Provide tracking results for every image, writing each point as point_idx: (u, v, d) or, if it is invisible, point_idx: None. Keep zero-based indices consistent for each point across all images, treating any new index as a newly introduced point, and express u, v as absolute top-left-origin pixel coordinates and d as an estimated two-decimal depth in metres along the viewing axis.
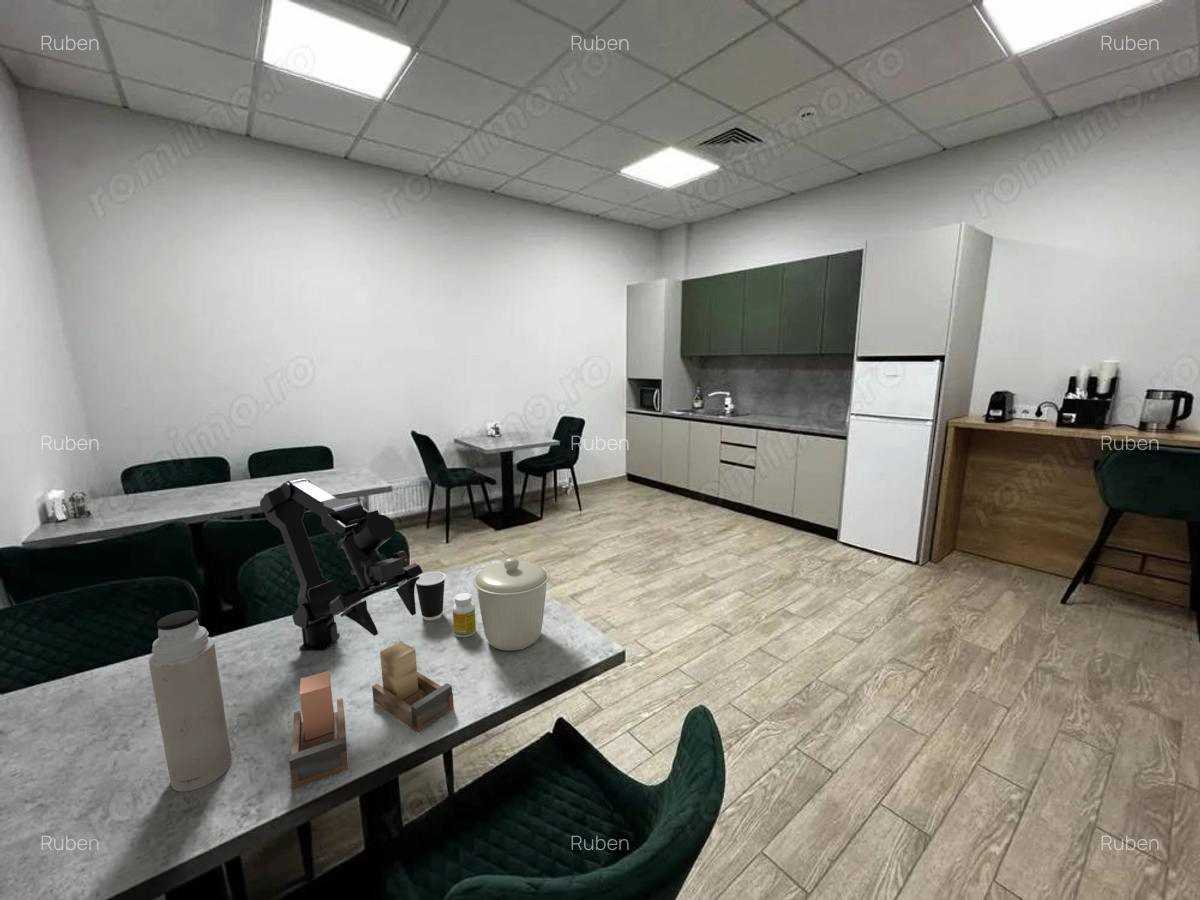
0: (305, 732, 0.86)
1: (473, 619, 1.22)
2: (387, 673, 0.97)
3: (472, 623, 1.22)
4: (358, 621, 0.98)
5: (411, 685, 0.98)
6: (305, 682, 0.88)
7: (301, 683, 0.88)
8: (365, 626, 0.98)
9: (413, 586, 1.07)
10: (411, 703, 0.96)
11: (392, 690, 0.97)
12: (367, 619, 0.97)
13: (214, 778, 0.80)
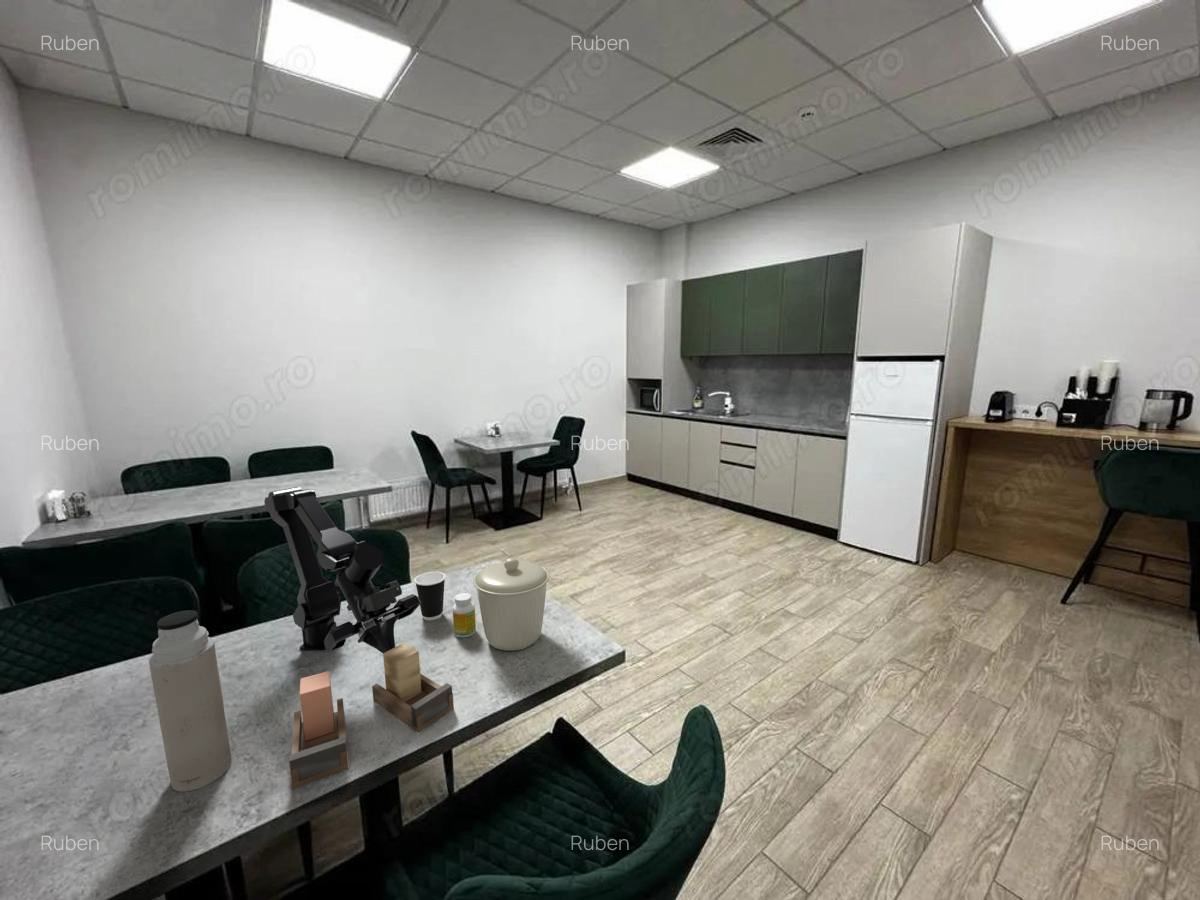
0: (305, 732, 0.86)
1: (473, 619, 1.22)
2: (390, 675, 0.96)
3: (472, 623, 1.22)
4: (375, 646, 1.00)
5: (414, 687, 0.98)
6: (305, 682, 0.88)
7: (301, 683, 0.88)
8: (381, 650, 0.99)
9: (392, 626, 1.01)
10: (411, 703, 0.96)
11: (396, 693, 0.96)
12: (382, 642, 0.99)
13: (214, 778, 0.80)
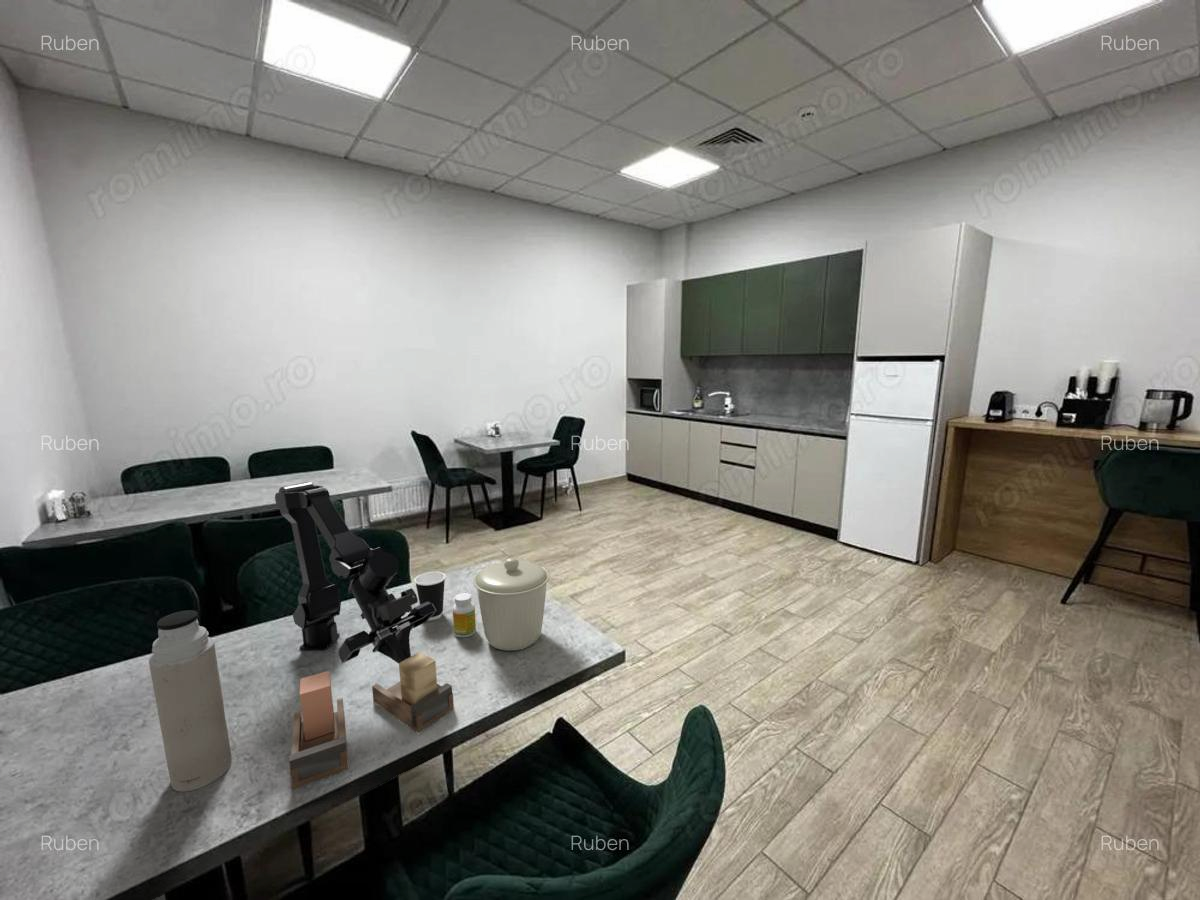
0: (305, 732, 0.86)
1: (473, 619, 1.22)
2: (406, 685, 0.93)
3: (472, 623, 1.22)
4: (390, 655, 0.97)
5: None
6: (305, 682, 0.88)
7: (301, 683, 0.88)
8: (397, 660, 0.96)
9: (408, 635, 0.98)
10: None
11: (412, 703, 0.93)
12: (398, 652, 0.96)
13: (214, 778, 0.80)
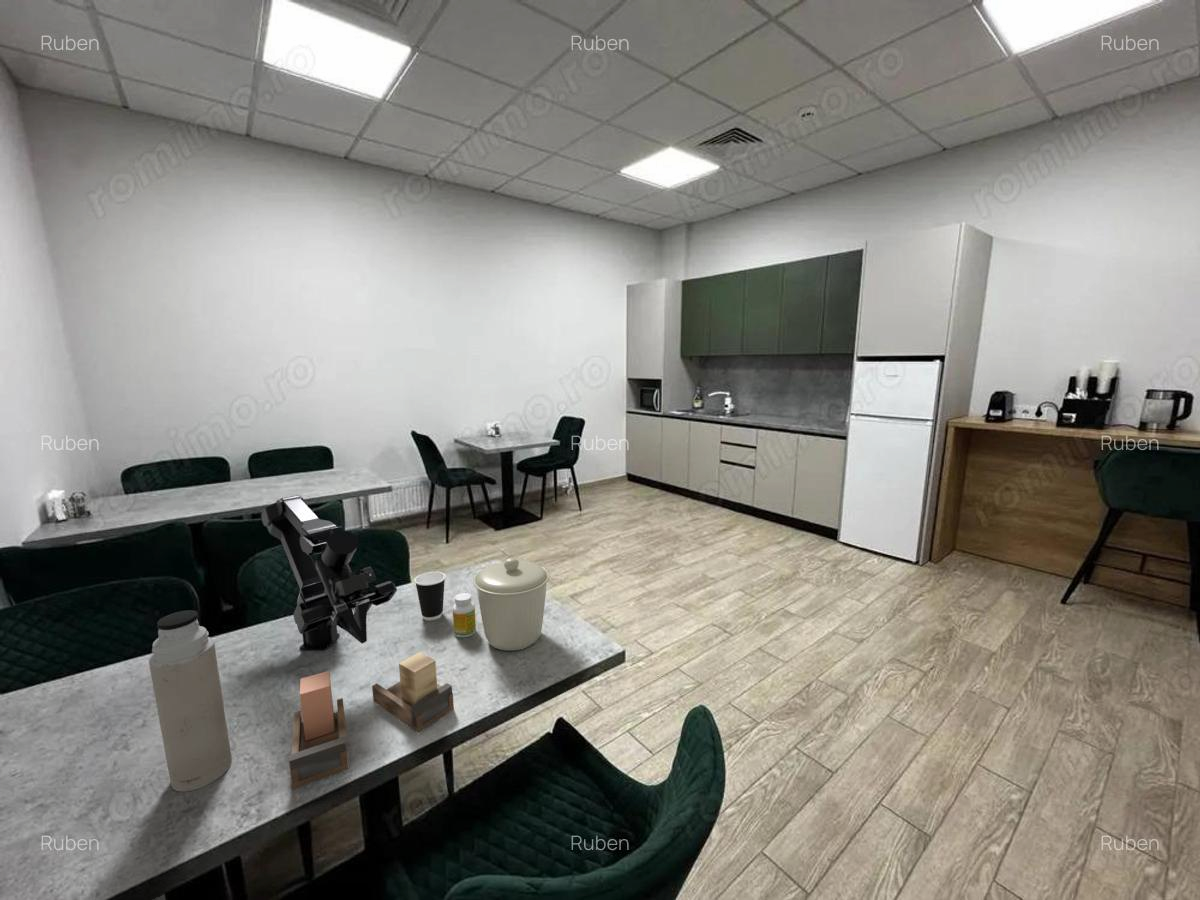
0: (305, 732, 0.86)
1: (473, 619, 1.22)
2: (406, 685, 0.93)
3: (472, 623, 1.22)
4: (347, 630, 1.01)
5: None
6: (305, 682, 0.88)
7: (301, 683, 0.88)
8: (353, 634, 1.01)
9: (365, 611, 1.03)
10: None
11: (412, 703, 0.93)
12: (353, 626, 1.00)
13: (214, 778, 0.80)
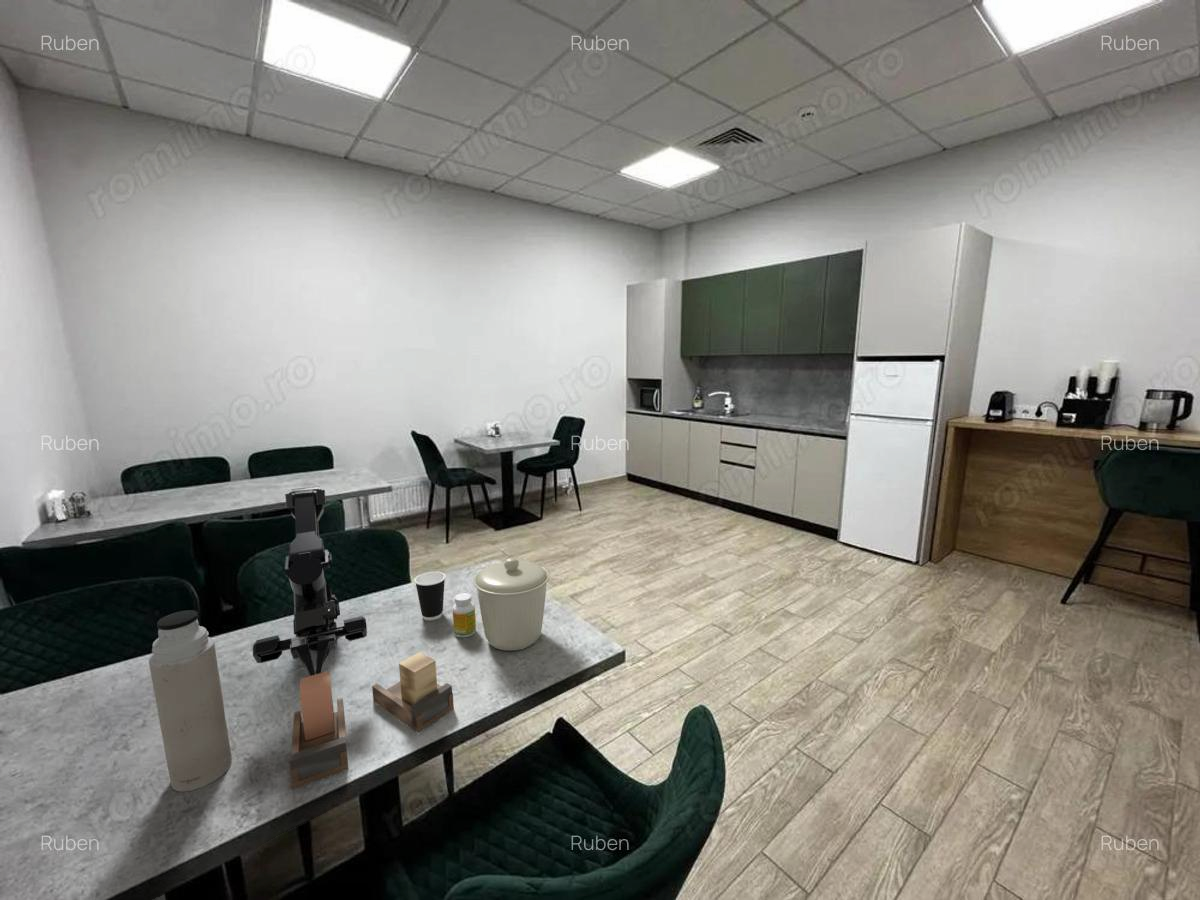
0: (305, 732, 0.86)
1: (473, 619, 1.22)
2: (406, 685, 0.93)
3: (472, 623, 1.22)
4: (305, 666, 0.93)
5: None
6: (305, 682, 0.88)
7: (301, 683, 0.88)
8: None
9: (324, 649, 0.93)
10: None
11: (412, 703, 0.93)
12: (307, 665, 0.91)
13: (214, 778, 0.80)
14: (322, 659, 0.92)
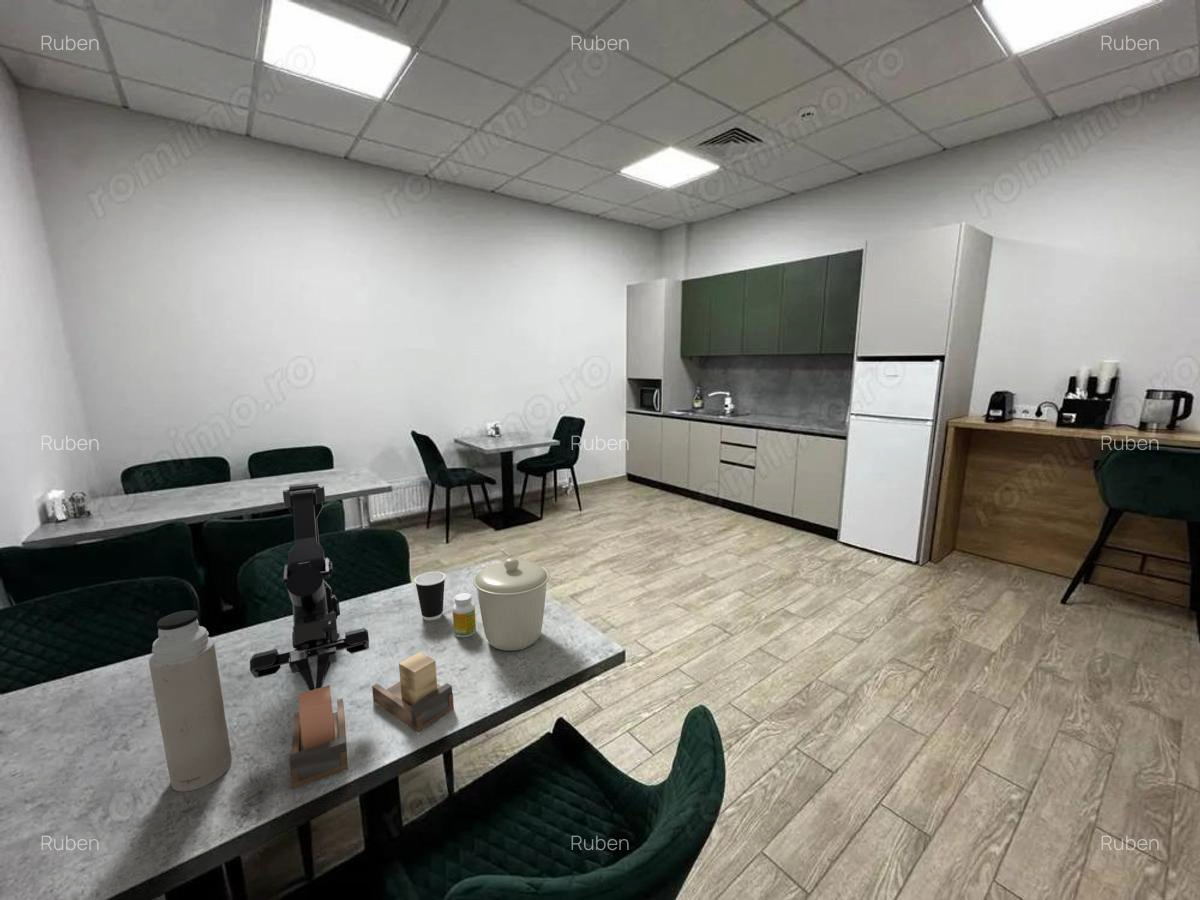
0: None
1: (473, 619, 1.22)
2: (406, 685, 0.93)
3: (472, 623, 1.22)
4: (305, 681, 0.89)
5: None
6: (305, 697, 0.84)
7: (300, 698, 0.84)
8: (308, 688, 0.88)
9: (325, 663, 0.89)
10: None
11: (412, 703, 0.93)
12: (307, 680, 0.87)
13: (214, 778, 0.80)
14: (322, 674, 0.88)
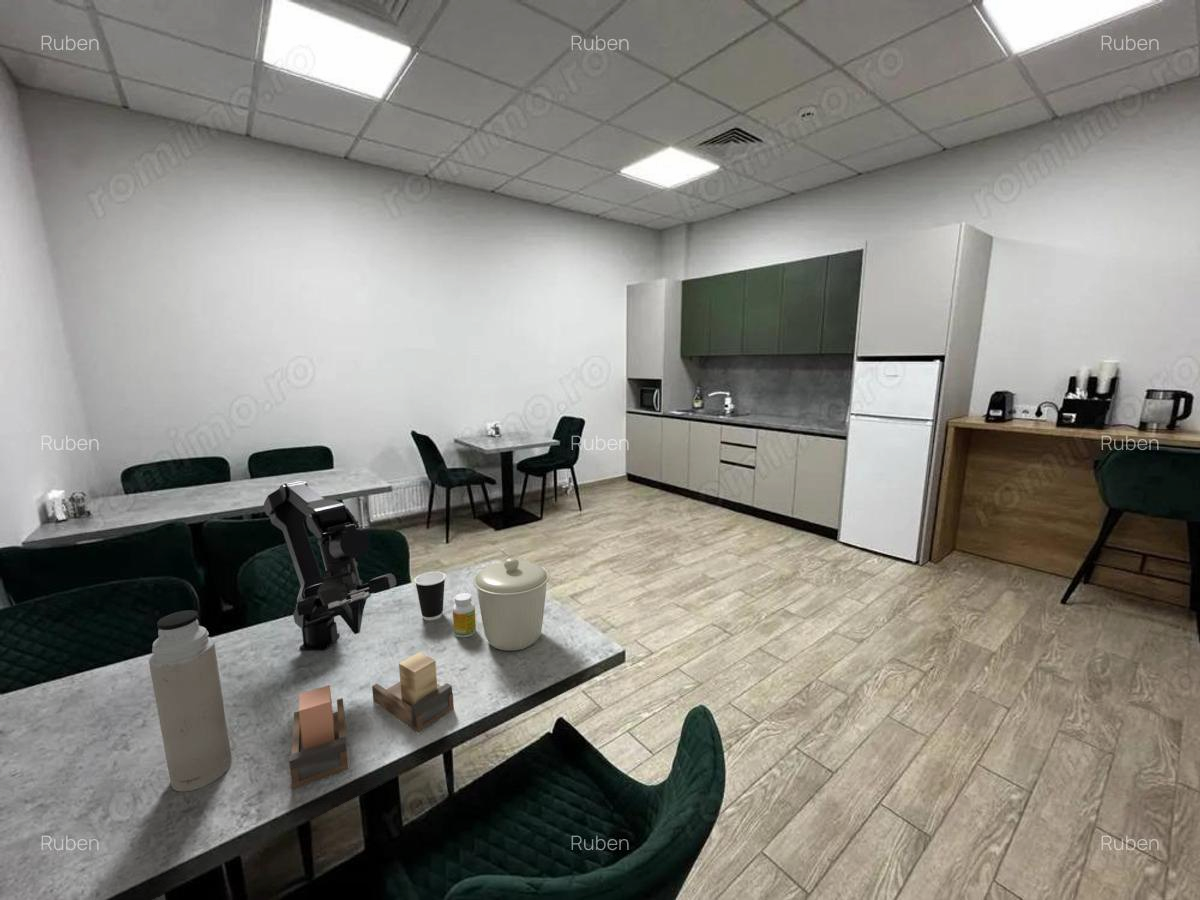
0: None
1: (473, 619, 1.22)
2: (406, 685, 0.93)
3: (472, 623, 1.22)
4: None
5: None
6: (305, 697, 0.84)
7: (300, 698, 0.84)
8: None
9: (357, 607, 1.03)
10: None
11: (412, 703, 0.93)
12: (345, 620, 1.03)
13: (214, 778, 0.80)
14: (357, 614, 1.03)
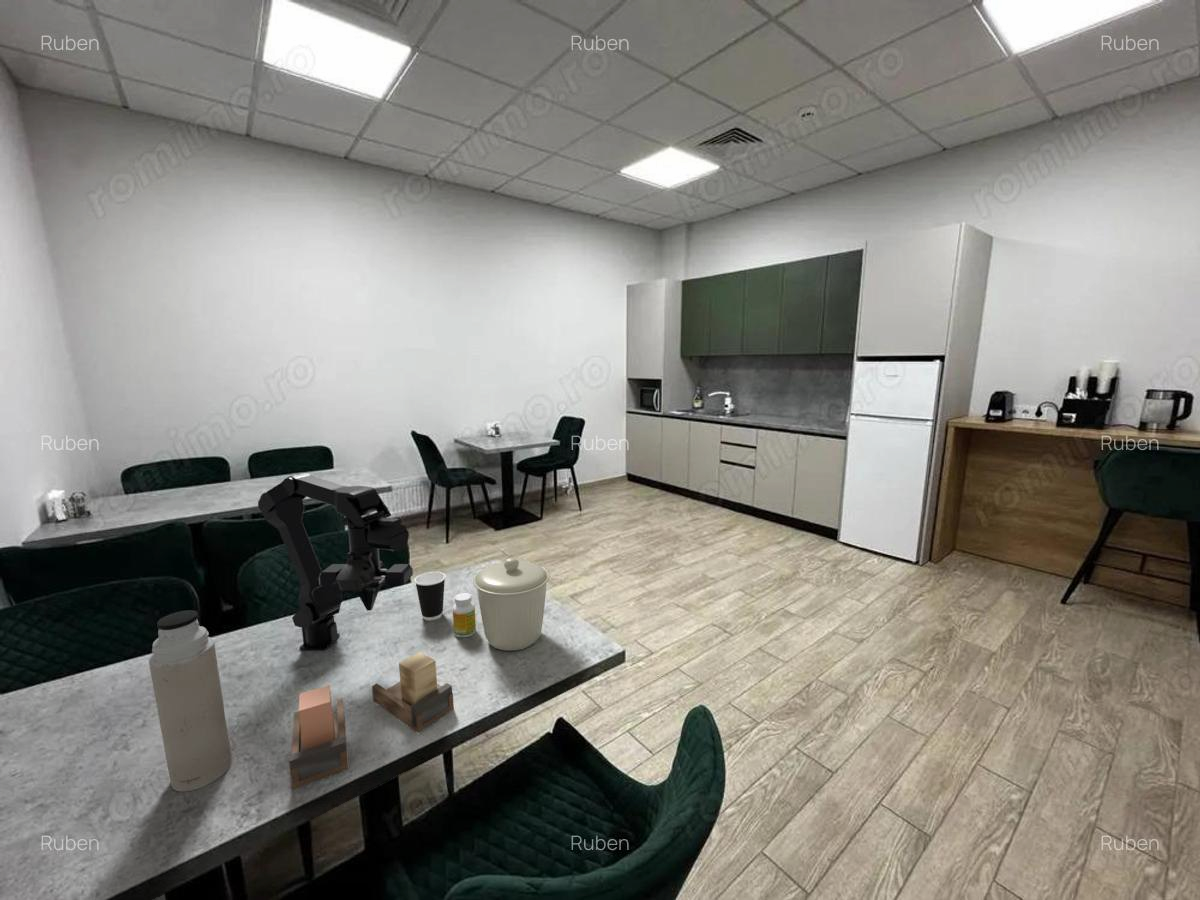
0: None
1: (473, 619, 1.22)
2: (406, 685, 0.93)
3: (472, 623, 1.22)
4: None
5: None
6: (305, 697, 0.84)
7: (300, 698, 0.84)
8: None
9: (372, 590, 1.08)
10: None
11: (412, 703, 0.93)
12: (361, 597, 1.09)
13: (214, 778, 0.80)
14: (371, 596, 1.09)
